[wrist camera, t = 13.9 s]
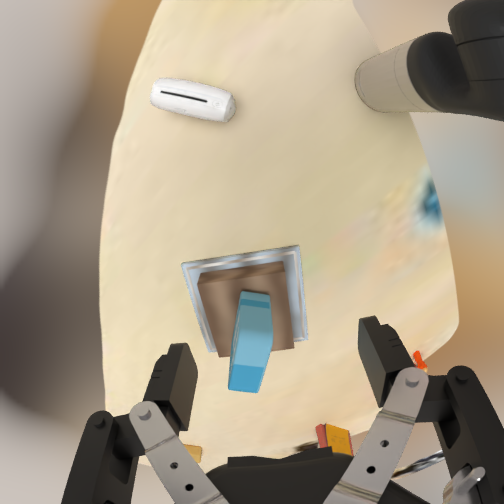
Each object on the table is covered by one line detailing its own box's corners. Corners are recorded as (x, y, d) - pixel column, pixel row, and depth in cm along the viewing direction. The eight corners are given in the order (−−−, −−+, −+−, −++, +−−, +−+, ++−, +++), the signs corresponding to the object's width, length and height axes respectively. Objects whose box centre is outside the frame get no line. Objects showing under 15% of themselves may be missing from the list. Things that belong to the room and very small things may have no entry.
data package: (241, 286, 48) (238, 335, 37) (269, 290, 48) (274, 339, 37) (231, 343, 53) (227, 394, 42) (256, 346, 53) (257, 397, 42)
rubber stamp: (201, 446, 77) (197, 478, 66) (201, 454, 79) (197, 485, 68) (169, 441, 76) (162, 473, 65) (170, 449, 79) (164, 480, 68)
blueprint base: (298, 245, 50) (302, 257, 46) (307, 337, 58) (311, 353, 54) (181, 262, 52) (175, 276, 47) (209, 349, 59) (206, 366, 55)
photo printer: (240, 99, 41) (236, 89, 29) (231, 125, 42) (224, 125, 31) (175, 83, 40) (149, 71, 28) (167, 109, 41) (139, 105, 30)
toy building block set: (315, 426, 72) (322, 468, 59) (414, 347, 61) (438, 389, 48) (344, 435, 75) (353, 473, 62) (437, 363, 64) (459, 401, 51)
